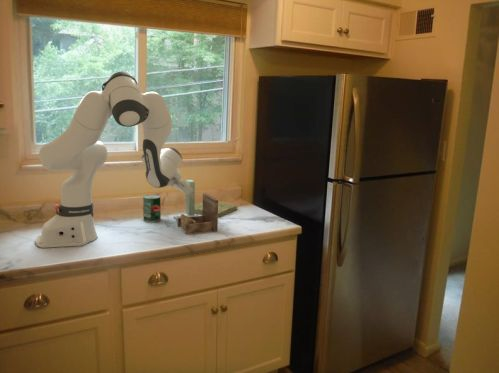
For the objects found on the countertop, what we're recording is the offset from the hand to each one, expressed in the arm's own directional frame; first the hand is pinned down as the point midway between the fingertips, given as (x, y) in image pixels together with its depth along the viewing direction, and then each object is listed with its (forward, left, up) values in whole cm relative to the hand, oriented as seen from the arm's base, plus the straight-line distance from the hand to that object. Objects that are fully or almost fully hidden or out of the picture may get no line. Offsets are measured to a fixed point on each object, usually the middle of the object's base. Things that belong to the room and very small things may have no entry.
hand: (191, 195), depth 202 cm
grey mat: (-1, 0, -12) cm, 12 cm away
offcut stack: (-6, -14, -12) cm, 19 cm away
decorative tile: (+15, +12, -12) cm, 23 cm away
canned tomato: (-17, +7, -12) cm, 22 cm away
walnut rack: (-3, -14, -12) cm, 18 cm away
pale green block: (-1, 0, -9) cm, 9 cm away
